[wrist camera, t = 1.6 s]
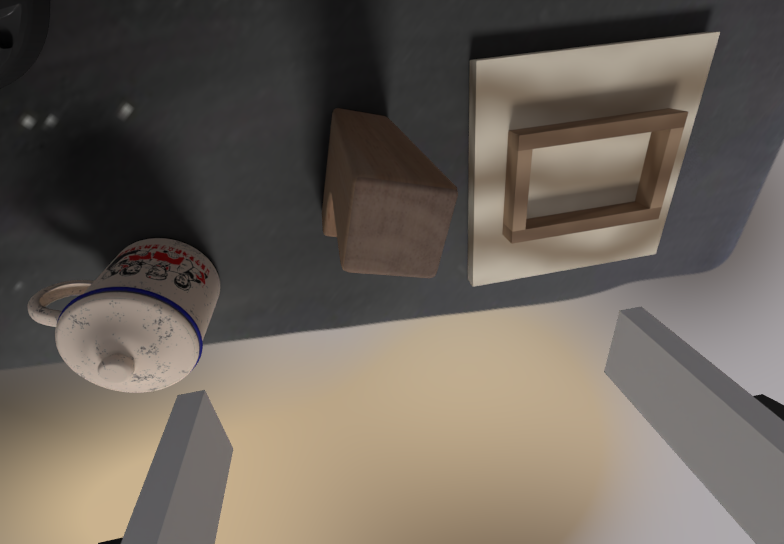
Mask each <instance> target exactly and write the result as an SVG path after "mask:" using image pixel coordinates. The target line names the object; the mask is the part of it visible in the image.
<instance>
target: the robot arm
mask: <svg viewBox="0 0 784 544" xmlns="http://www.w3.org/2000/svg"><path fill="white" fill-rule="evenodd" d="M49 18H50V0H0V88H2V87H4V86H6V85H8V84H10V83H12V82H13V81H15V80H17V79H18V78H19V77H21V76H22V75H23V74H24V73H25V72H26V71H27V70H28V69H29V68H30V67H31V66H32V65H33V63H34V62H35V60H36V59H37V58H38V56H39V54H40V52H41V50H42V48H43V45H44V43H45V39H46V36H47V32H48V27H49ZM604 372H605V373H606V375H607V376H608V377H609V378H610V379H611V380H612V381H613V382H614V384H615V385H616V386H617V387H618V388H619V389H620V390H621V391H622V393H623V394H624V395H625V396H626V397H627V398H628V399H629V401H630V402H631V403H632V404H633V405H634V406H635V407H636V408H637V410H638V411H639V412H640V413H641V414H642V415H643V416H644V418H645V419H646V420H647V421H648V422H649V423H650V424H651V425H652V427H653V428H654V429H655V430H656V431H657V432H658V433H659V435H660V436H661V437H662V438H663V439H664V440H665V441H666V442H667V444H668V445H669V446H670V447H671V448H672V449H673V450H674V451H675V453H677V455H678V456H679V457H680V458H681V459H682V461H683V462H684V463H685V464H686V465H687V466H688V467H689V468H690V470H691V471H692V472H693V473H694V474H695V475H696V476H697V478H698V479H699V480H700V481H701V482H702V483H703V484H704V485H705V487H706V488H707V489H708V490H709V491H710V492H711V493H712V494H713V496H714V497H715V498H716V499H717V500H718V501H719V502H720V504H721V505H722V506H723V507H724V508H725V509H726V510H727V512H728V513H729V514H730V515H731V516H732V517H733V518H734V519H735V521H736V522H737V523H738V524H739V525H740V526H741V527H742V529H743V530H744V531H745V532H746V533H747V534H748V535H749V536H750V538H751V539H752V540H753V541H754V542H755V543H756V544H784V405H782V404H780V403H778V402H777V401H775V400H773V399H771V398H769V397H767V396H765V395H763V394H761V395H756V396H752V395H751V394H749V393H748V392H747V391H746V390H744V389H743V388H742V387H741V386H739V385H738V384H737V383H736V382H734V381H733V380H732V379H731V378H730V377H728V376H727V375H726V374H725V373H723V372H722V371H721V370H720V369H718V368H717V367H716V366H715V365H713V364H712V363H711V362H709V361H708V360H707V359H706V358H705V357H703V356H702V355H701V354H700V353H698V352H697V351H696V350H695V349H693V348H692V347H691V346H690V345H688V344H687V343H686V342H685V341H683V340H682V339H681V338H680V337H679V336H677V335H676V334H675V333H674V332H672V331H671V330H670V329H668V328H667V327H666V326H665V325H664V324H662V323H661V322H660V321H659V320H657V319H656V318H655V317H654V316H652V315H651V314H650V313H649V312H647V311H646V310H645V309H644V308H642V307H636V308H631V309H626V310H621V311H620V312H619V315H618V319H617V323H616V327H615V331H614V335H613V339H612V343H611V347H610V351H609V355H608V359H607V363H606V367H605V371H604ZM232 452H233V447H232V445H231V443H230V441H229V439H228V437H227V435H226V433H225V431H224V429H223V426H222V425H221V422H220V420H219V418H218V416H217V414H216V412H215V410H214V408H213V406H212V404H211V402H210V400H209V397H208V396H207V393H206V392H205V390H202V391H197V392H192V393H187V394H181V395H178V396H177V399H176V401H175V404H174V407H173V409H172V412H171V414H170V417H169V419H168V422H167V425H166V427H165V430H164V432H163V435H162V438H161V440H160V443H159V445H158V448H157V451H156V453H155V456H154V459H153V461H152V464H151V466H150V469H149V471H148V474H147V477H146V480H145V482H144V485H143V487H142V490H141V492H140V495H139V497H138V500H137V503H136V506H135V508H134V510H133V513H132V516H131V518H130V521H129V523H128V526H127V529H126V532H125V534H124V537H123V538H119V539H114V540H110V541H105V542H101V543H98V544H215V538H216V533H217V528H218V523H219V518H220V513H221V508H222V503H223V498H224V493H225V488H226V483H227V477H228V472H229V467H230V462H231V457H232Z"/></svg>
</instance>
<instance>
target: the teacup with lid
mask: <svg viewBox="0 0 784 544" xmlns="http://www.w3.org/2000/svg"><path fill="white" fill-rule="evenodd" d="M219 293H220V280H219V276H218V273H217V271H216V269H215V267H214V266H213V264H212V263H211V262H210V260H209V259H208V258H207V257H206V256H205V255H204V254H202V253H201V252H200V251H198V250H197V249H195V248H194V247H192V246H190V245H188V244H185V243H183V242H180V241H176V240H172V239H165V238H152V239H145V240H141V241H138V242H135V243H133V244H131V245H129V246H128V247H126V248H125V249H123V250H122V251H121V252H120V253H119V254H118V255H117V257H116V258H115V259H114V260H113V261H112V262H111V263H110V264H109V265H108V267H107V268H106V269H105V270H104V271H103V272H102V273H101V274H100V275H99V277H98V278H97V279H96V280H95V281H90V280H72V281H65V282H61V283H57V284H54V285H51V286H49V287H46V288H44V289H42V290H41V291H39V292H37V293H36V294H35V295H34V296H33V297H32V298H31V299H30V300H29V303H28V312H29V315H30V316H31V317H32V319H34V320H35V321H36V322H38V323H41V324H44V325H48V326H54V327H56V330H55V340H56V345H57V348H58V351H59V353H60V355H61V357H62V358H63V360H64V361H65V362H66V364H67V365H68V366H69V367H70V368H71V369H72V370H73V371H74V372H76V373H77V374H78V375H80V376H81V377H83V378H84V379H86V380H88V381H90V382H92V383H94V384H96V385H99V386H101V387H104V388H108V389H112V390H116V391H122V392H149V391H155V390H160V389H163V388H166V387H169V386H171V385H173V384H175V383H177V382H178V381H180V380H182V379H183V378H184V377H186V376H187V375H188V374H189V373H190V372H191V371H192V370H193V369H194V367H195V366H196V365H197V363H198V361H199V359H200V357H201V353H202V347H203V343H202V341H203V338H204V336H205V333H206V330H207V327H208V325H209V322H210V319H211V316H212V314H213V311H214V308H215V305H216V302H217V300H218V297H219ZM73 295H80V296H78V297H77V298H75V299H74V300H72V301H71V302H70V303H69V304H68V305H67V306H66V307H65V308H64V309H63V311H59V310H52V309H48V308H46V306H47V305H48V304H50V303H52V302H54V301H56V300H58V299H61V298H64V297H68V296H73Z"/></svg>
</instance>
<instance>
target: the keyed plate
mask: <svg viewBox="0 0 784 544" xmlns="http://www.w3.org/2000/svg"><path fill="white" fill-rule="evenodd" d="M719 34H720V32H702V33H693V34H685V35H676V36H668V37H660V38H651V39H643V40H634V41H626V42H617V43H609V44H601V45H592V46H584V47H575V48H567V49H558V50H550V51H542V52H533V53H525V54H516V55H508V56H500V57H491V58H483V59H474V60H470V75H469V197H468V280H469V282H470V283H471V285H472V286H473V287H474V286H479V285H485V284H491V283H496V282H502V281H507V280H513V279H518V278H524V277H530V276H535V275H541V274H546V273H552V272H558V271H563V270H569V269H574V268H580V267H585V266H591V265H597V264H602V263H608V262H613V261H619V260H625V259H630V258H636V257H641V256H647V255H652V254H656V251H657V248H658V244H659V241H660V238H661V234H662V231H663V227H664V224H665V220H666V217H667V213H668V210H669V206H670V203H671V200H672V196H673V193H674V189H675V186H676V182H677V179H678V175H679V172H680V169H681V165H682V162H683V158H684V155H685V151H686V148H687V144H688V141H689V138H690V134H691V131H692V127H693V124H694V120H695V117H696V113H697V110H698V107H699V103H700V100H701V96H702V93H703V89H704V86H705V82H706V79H707V75H708V72H709V69H710V65H711V62H712V58H713V55H714V51H715V48H716V44H717V41H718V38H719Z"/></svg>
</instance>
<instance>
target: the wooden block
mask: <svg viewBox="0 0 784 544" xmlns="http://www.w3.org/2000/svg"><path fill="white" fill-rule="evenodd" d="M457 196H458V192H457V187H456V186H455V185H454V184H453V183H452V182H451V181H450V180H449V179H448V178H447V177H446V176H445V175H444V174H443V173H442V172H441V171H440V170H439V169H438V168H437V167H436V166H435V165H434V164H433V163H432V162H431V161H430V160H429V159H428V158H427V157H426V156H425V155H424V154H423V153H422V152H421V151H420V150H419V149H418V148H417V147H416V146H415V145H414V144H413V143H412V142H411V141H410V140H409V138H408V137H407V136H406V135H405V134H404V133H403V132H402V131H401V130H400V129H399V128H398V127H397V126H396V125H395V124H394V123H393V122H392V121H391V120H390V119H389V118H387V117H386V116H381V115H375V114H370V113H364V112H358V111H352V110H346V109H340V108H337V109H334V111H333V112H332V121H331V130H330V140H329V149H328V159H327V168H326V178H325V188H324V197H323V207H322V224H323V232H324V234H325V235H327V236H333V237H337V239H338V247H339V254H340V262H341V266H342V269H343V270H345V271H347V272H352V273H365V274H379V275H393V276H406V277H420V278H432V277H434V276H435V275H436V273H437V270H438V266H439V262H440V259H441V255H442V251H443V248H444V244H445V240H446V236H447V233H448V229H449V225H450V222H451V218H452V214H453V211H454V207H455V203H456V200H457Z"/></svg>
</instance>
